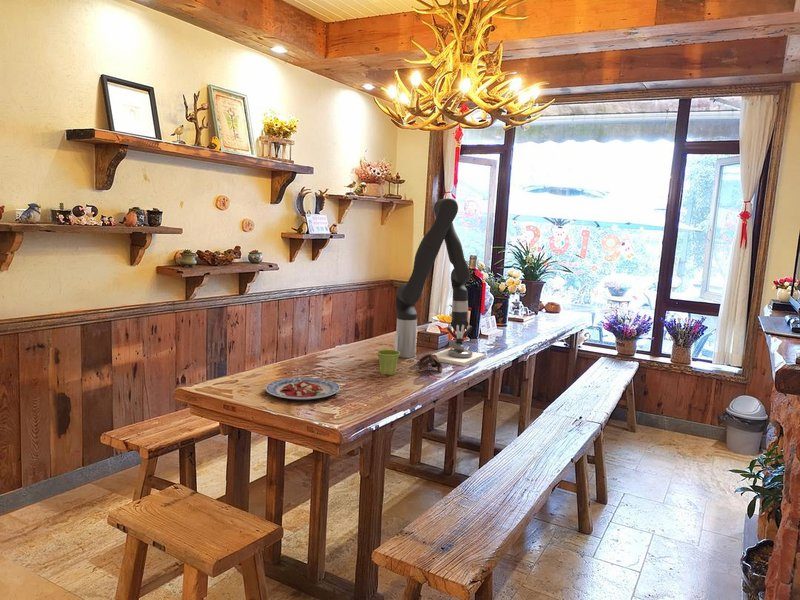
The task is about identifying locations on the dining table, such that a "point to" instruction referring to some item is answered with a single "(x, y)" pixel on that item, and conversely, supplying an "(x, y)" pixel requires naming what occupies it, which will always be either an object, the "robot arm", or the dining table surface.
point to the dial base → (446, 358)
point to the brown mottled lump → (432, 360)
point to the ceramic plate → (302, 388)
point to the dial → (458, 350)
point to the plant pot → (388, 361)
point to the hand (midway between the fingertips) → (459, 346)
